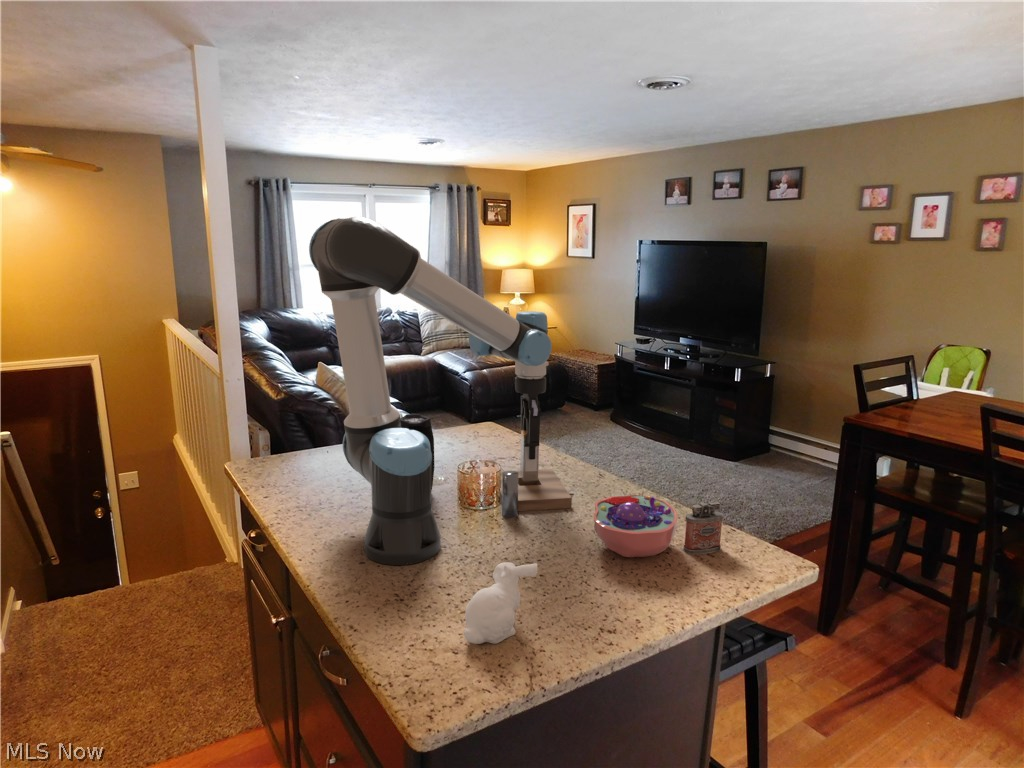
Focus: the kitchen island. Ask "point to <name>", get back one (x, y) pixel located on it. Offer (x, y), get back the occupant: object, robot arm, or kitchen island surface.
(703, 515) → the lighter
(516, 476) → the round bit
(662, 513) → the cell model
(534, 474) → the square bit
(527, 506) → the socket plate
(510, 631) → the rabbit
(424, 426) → the portable speaker
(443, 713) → the kitchen island surface
